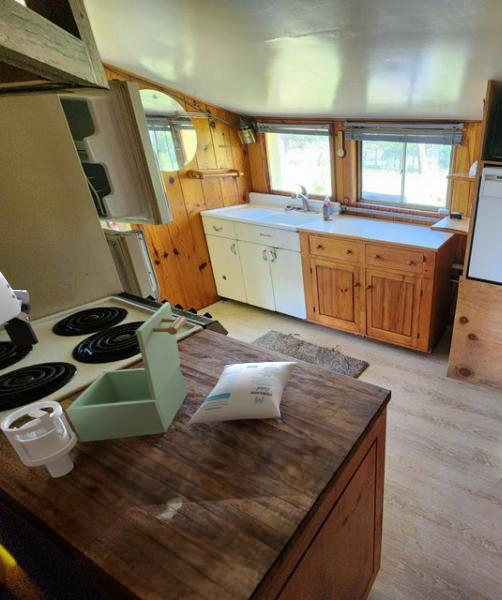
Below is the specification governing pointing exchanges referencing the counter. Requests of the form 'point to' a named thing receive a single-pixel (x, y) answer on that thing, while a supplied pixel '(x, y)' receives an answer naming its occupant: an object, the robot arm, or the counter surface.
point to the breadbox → (125, 406)
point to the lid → (160, 347)
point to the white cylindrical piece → (42, 438)
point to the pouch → (246, 392)
